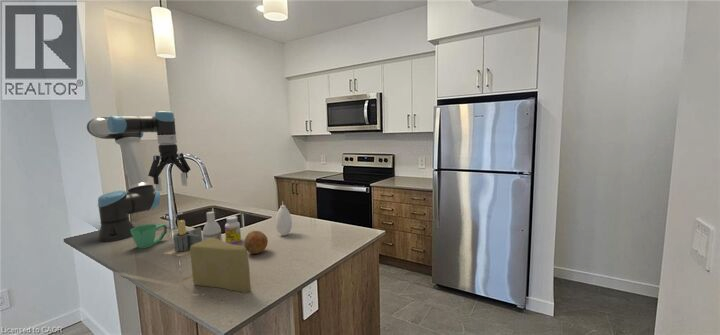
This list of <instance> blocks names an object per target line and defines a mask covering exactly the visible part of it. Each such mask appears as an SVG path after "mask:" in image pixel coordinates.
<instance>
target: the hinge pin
mask: <svg viewBox="0 0 720 335" xmlns="http://www.w3.org/2000/svg"><path fill="white" fill-rule="evenodd" d="M176 224H177V233H179V236H183V235H187V234H186V231H187V228H186V221H185V219H179V220H177V221H176Z"/></svg>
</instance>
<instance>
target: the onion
mask: <svg viewBox="0 0 720 335" xmlns="http://www.w3.org/2000/svg"><path fill="white" fill-rule="evenodd" d="M268 240H269V239H268V237H267V235H266V234H265V233H263V232H262V231H260V230H252V231H249V232H248V233H247V235H246V236H245V238H244V242H243V243H244V244H243V247H245V248H246V249H247V253H249V254H252V255H253V254H254V255H256V254H260V253H263V252H264V251H265V250H266V248H267V246H268V244H269V243H268V242H269V241H268Z"/></svg>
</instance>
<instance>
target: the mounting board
mask: <svg viewBox="0 0 720 335" xmlns="http://www.w3.org/2000/svg"><path fill="white" fill-rule="evenodd" d="M162 254H164V255H170V256H178V257H185V258H189V257H190V258H191V254H190V250H189V251H186V252H175V248H172V249H169V250H167V251H166V250H165V252H162Z"/></svg>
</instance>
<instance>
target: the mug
mask: <svg viewBox="0 0 720 335" xmlns="http://www.w3.org/2000/svg"><path fill="white" fill-rule="evenodd" d="M133 227H134V226H133ZM160 228H163V231H162V232H161V234H160V236H159V237H158V238H157V239H156V232H157V230H158V229H160ZM130 231H131V234H132V236H131V237H132V239H133V241H134V243H135V245H136V247H137V248H138V249H146V248H150V247H152V246H153V245H157V243H159V242H160V241H162V240H163V238H164V237H165V235H166V234H167V233H168V232H167V231H168V226H167V225H166V224H165V223H161V224H157V225H156V224H142V225H138V226H135V227H134V228H132V229H131V230H130Z"/></svg>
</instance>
